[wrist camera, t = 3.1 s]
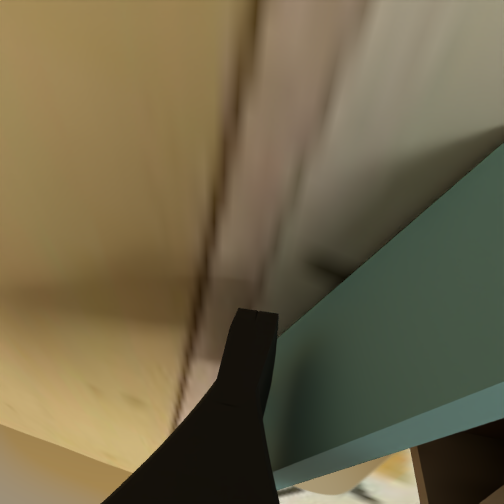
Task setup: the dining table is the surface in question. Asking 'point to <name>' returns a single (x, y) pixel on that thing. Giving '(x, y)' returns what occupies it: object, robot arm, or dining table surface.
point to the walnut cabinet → (462, 467)
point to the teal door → (398, 342)
